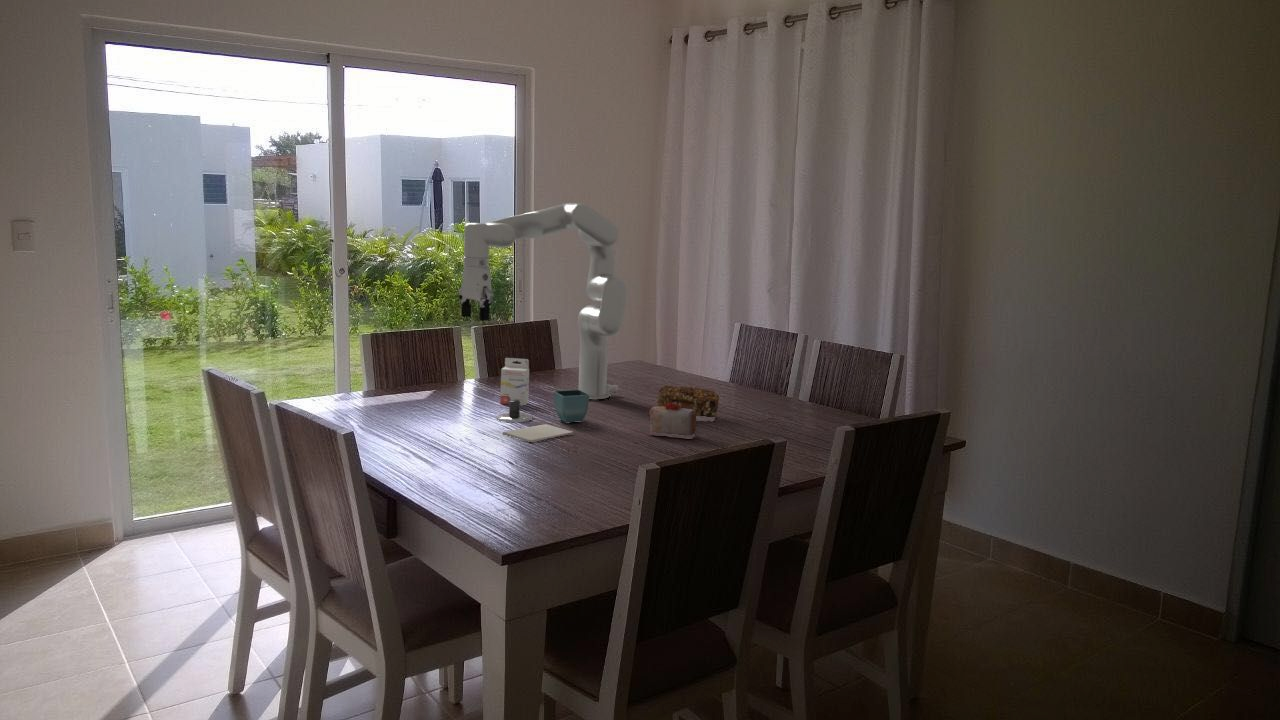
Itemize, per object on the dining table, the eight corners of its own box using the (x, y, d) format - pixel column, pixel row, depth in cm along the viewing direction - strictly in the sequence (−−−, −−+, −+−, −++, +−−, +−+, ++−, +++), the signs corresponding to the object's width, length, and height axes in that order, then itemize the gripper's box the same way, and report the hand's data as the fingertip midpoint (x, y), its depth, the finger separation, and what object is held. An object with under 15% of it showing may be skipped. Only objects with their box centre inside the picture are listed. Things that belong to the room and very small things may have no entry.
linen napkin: (545, 426, 274) (545, 424, 274) (573, 434, 266) (573, 431, 266) (502, 434, 263) (502, 431, 262) (530, 443, 255) (530, 440, 254)
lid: (523, 414, 291) (523, 396, 290) (538, 421, 281) (538, 403, 280) (490, 417, 285) (490, 398, 284) (504, 425, 276) (505, 405, 275)
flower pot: (551, 419, 284) (552, 390, 283) (578, 417, 288) (579, 389, 286) (561, 425, 276) (562, 396, 275) (589, 424, 280) (590, 394, 278)
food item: (645, 436, 268) (646, 403, 266) (653, 430, 275) (654, 398, 274) (691, 441, 264) (693, 407, 262) (698, 435, 271) (699, 402, 270)
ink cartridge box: (499, 404, 302) (500, 359, 300) (503, 401, 307) (504, 357, 305) (525, 405, 302) (526, 361, 299) (528, 402, 306) (529, 358, 304)
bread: (656, 419, 290) (657, 388, 289) (661, 412, 301) (662, 382, 299) (715, 424, 287) (717, 392, 286) (718, 416, 298) (720, 386, 296)
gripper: (503, 265, 283) (501, 321, 286) (470, 261, 295) (469, 315, 298) (482, 265, 278) (481, 322, 281) (450, 261, 290) (449, 316, 293)
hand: (475, 318), depth 289 cm, fingers open, 9 cm apart
